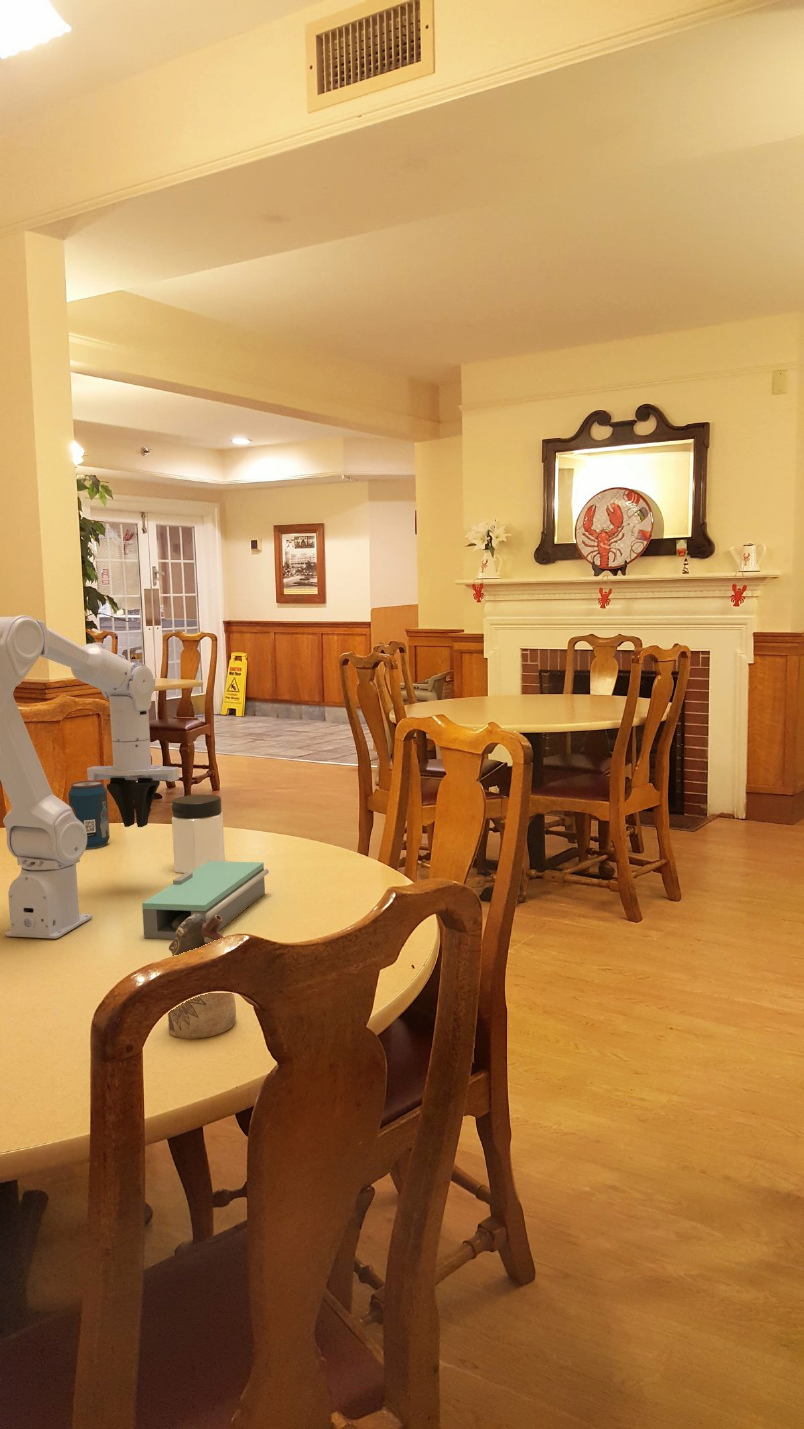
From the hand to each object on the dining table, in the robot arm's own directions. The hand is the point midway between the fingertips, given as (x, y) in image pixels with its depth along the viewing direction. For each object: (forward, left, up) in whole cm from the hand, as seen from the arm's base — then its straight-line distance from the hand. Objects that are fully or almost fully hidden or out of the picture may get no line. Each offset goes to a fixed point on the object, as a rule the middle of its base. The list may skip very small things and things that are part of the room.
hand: (135, 825), depth 156 cm
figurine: (-46, -31, -11) cm, 56 cm away
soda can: (+27, +24, -11) cm, 38 cm away
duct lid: (-10, -16, -6) cm, 20 cm away
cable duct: (-10, -16, -10) cm, 22 cm away
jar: (+14, -4, -11) cm, 18 cm away
